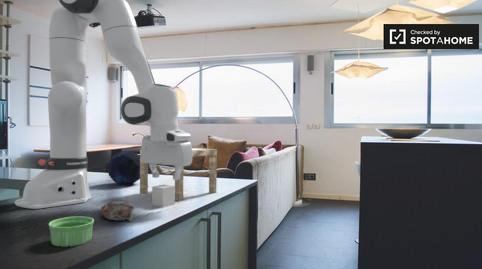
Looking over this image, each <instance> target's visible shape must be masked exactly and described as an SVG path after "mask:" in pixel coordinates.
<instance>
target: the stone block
mask: <svg viewBox="0 0 482 269" xmlns="http://www.w3.org/2000/svg"><path fill="white" fill-rule="evenodd" d="M151 189H152V190H151V205H152V206H154V207H159V208H166V207H169V206H174V205H176V203H175V202H176V200H175V185H169V184H158V185H153V186H151Z"/></svg>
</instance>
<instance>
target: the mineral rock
mask: <svg viewBox="0 0 482 269" xmlns="http://www.w3.org/2000/svg"><path fill="white" fill-rule="evenodd" d="M133 210H134V206H133V205H132V204H131V202H130V201H128V199H125V200H116V201H110V202H107V203H104V205H103V206H101V208H100V210H99V213H100V215H101V217H102V218H105V219H107V220H108V221H118V222H121V221H125V220H128V221H129V222H130V221H131V222H133V219H134V215H133Z"/></svg>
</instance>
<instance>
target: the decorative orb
mask: <svg viewBox="0 0 482 269" xmlns="http://www.w3.org/2000/svg"><path fill="white" fill-rule="evenodd" d="M107 171H108V176H109V177H110V179H111V180H112V181H113V182H114V183H115V184H117V185H121V186H128V185H133V184H135V183H136V182H138V181H140V154H138V153H136V152H132V151H130V150H123V151H122V150H121V151H119V152H117V153H116V154H115V155H112V156H111V158H110V160H109V162H108V164H107Z"/></svg>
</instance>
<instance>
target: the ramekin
mask: <svg viewBox="0 0 482 269" xmlns="http://www.w3.org/2000/svg"><path fill="white" fill-rule="evenodd" d="M94 222H95V219H94V218H93V217H90V216H80V215H79V216H66V217H62V218H57V219H53V220H51V221H49V223H48V228H49V234H50V237H49V238H50V243H51V245H53V246H54V247H59V246H61V247H62V248H63V247H65V248H66V247H68V246H70V247H75V246H81V245H83V244H86V243H87V244H88V243H89V242H90V241H91V240H92V236H93V228H94ZM61 247H60V248H61Z"/></svg>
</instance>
